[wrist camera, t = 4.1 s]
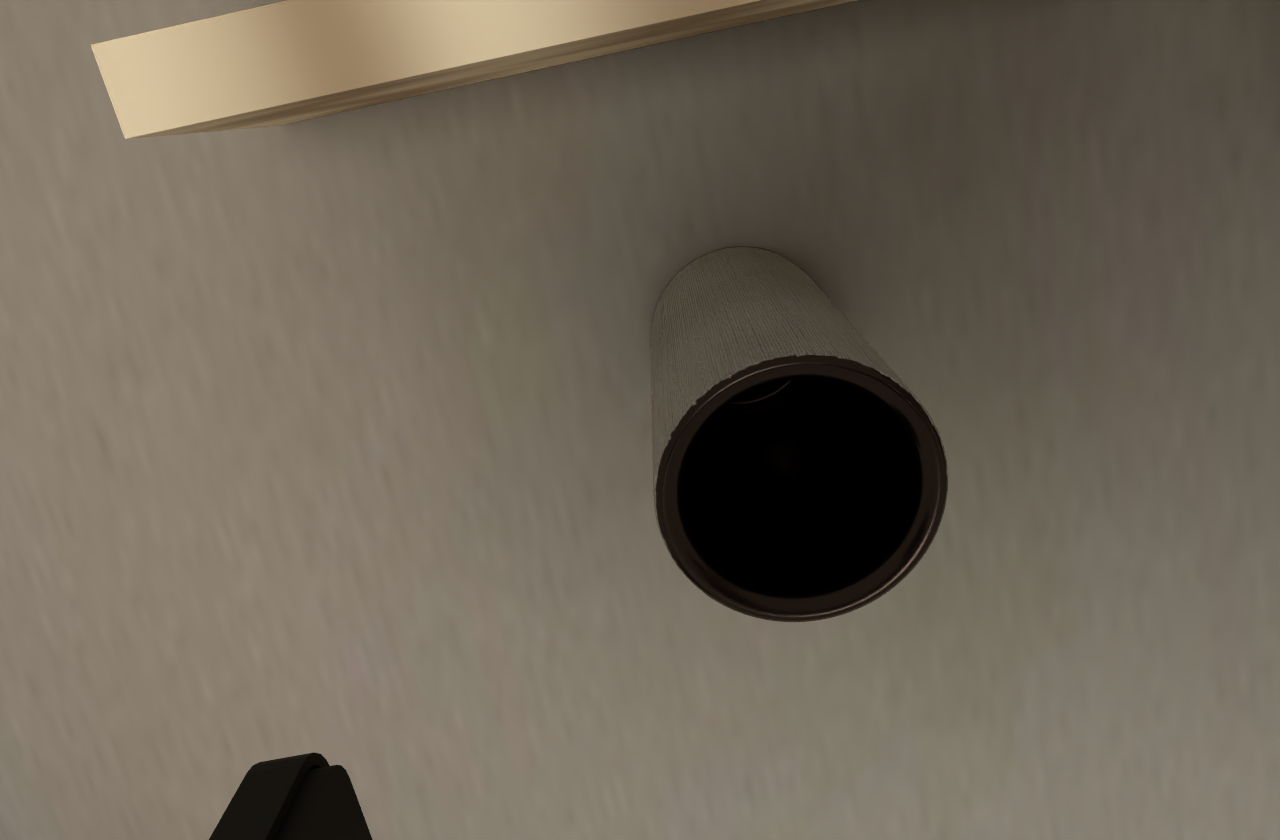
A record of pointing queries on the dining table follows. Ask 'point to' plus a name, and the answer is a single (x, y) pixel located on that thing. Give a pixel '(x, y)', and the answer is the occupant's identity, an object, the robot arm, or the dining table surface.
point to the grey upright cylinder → (784, 444)
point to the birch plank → (377, 53)
